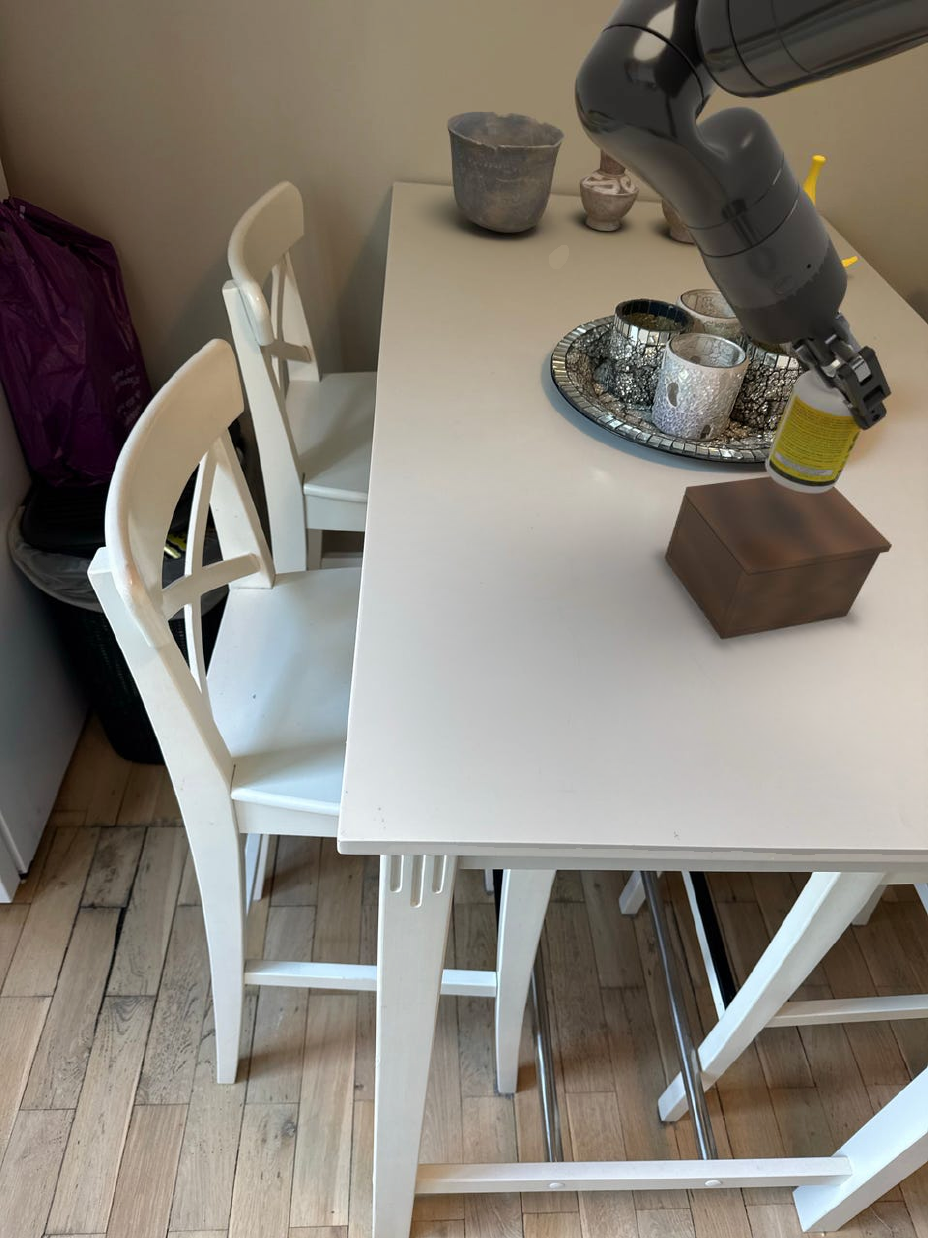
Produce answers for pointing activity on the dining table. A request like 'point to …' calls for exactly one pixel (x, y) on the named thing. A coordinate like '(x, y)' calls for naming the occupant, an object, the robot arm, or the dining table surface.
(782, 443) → the pill bottle
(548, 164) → the bowl
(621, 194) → the pottery
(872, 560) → the chest
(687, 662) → the dining table surface
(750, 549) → the lid
